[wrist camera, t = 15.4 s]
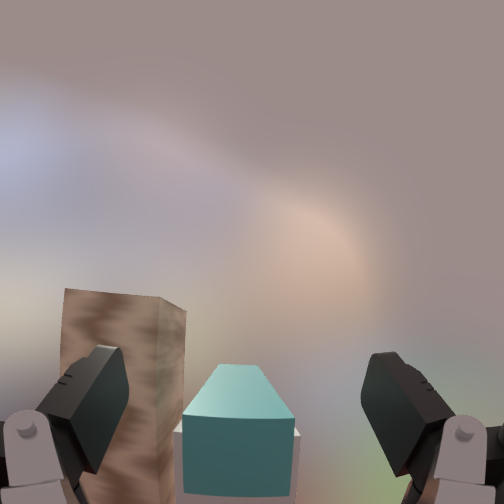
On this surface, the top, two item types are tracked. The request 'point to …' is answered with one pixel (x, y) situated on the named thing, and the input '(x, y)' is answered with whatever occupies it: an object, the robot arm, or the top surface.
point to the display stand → (132, 389)
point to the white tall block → (185, 500)
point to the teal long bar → (237, 437)
